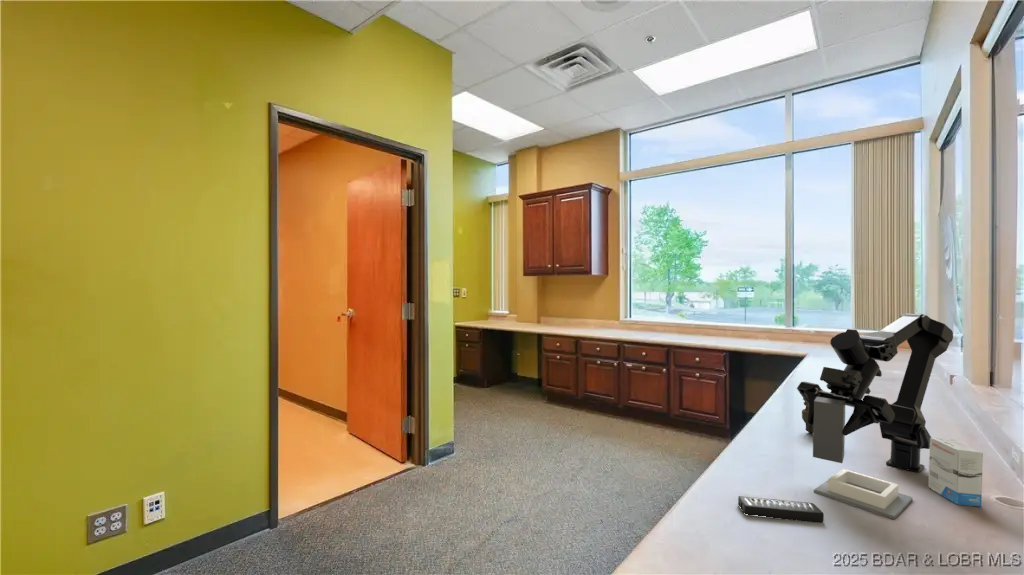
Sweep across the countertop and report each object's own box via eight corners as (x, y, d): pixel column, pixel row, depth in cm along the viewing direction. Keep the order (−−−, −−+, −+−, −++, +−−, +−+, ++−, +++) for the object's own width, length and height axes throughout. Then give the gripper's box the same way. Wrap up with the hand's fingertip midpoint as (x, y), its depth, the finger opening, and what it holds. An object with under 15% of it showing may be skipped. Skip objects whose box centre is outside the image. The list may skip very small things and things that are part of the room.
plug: (815, 450, 107) (816, 396, 107) (844, 456, 103) (845, 400, 103) (812, 456, 103) (814, 401, 103) (842, 463, 99) (843, 405, 99)
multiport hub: (824, 525, 87) (824, 513, 87) (744, 517, 89) (745, 505, 89) (812, 513, 91) (813, 502, 91) (737, 506, 93) (737, 495, 93)
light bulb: (819, 432, 141) (821, 385, 141) (825, 438, 136) (826, 389, 136) (799, 430, 143) (800, 383, 143) (804, 435, 138) (805, 387, 138)
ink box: (982, 507, 94) (984, 452, 94) (955, 504, 95) (957, 450, 95) (951, 489, 103) (953, 438, 103) (927, 486, 104) (928, 436, 104)
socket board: (836, 476, 108) (836, 463, 108) (912, 499, 97) (912, 485, 97) (813, 491, 100) (814, 478, 100) (894, 519, 89) (894, 503, 89)
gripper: (802, 349, 113) (771, 396, 109) (888, 362, 96) (855, 418, 91) (821, 378, 116) (792, 425, 112) (908, 395, 99) (877, 451, 95)
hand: (825, 428), depth 102 cm, fingers closed on plug, 7 cm apart
